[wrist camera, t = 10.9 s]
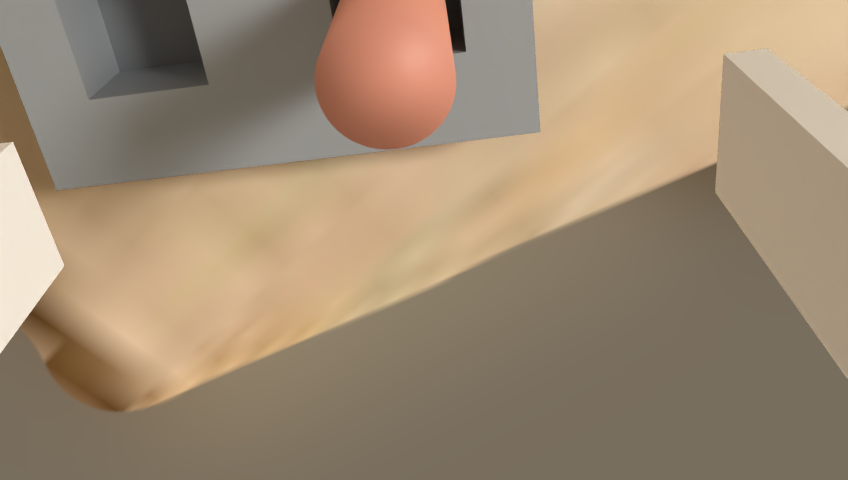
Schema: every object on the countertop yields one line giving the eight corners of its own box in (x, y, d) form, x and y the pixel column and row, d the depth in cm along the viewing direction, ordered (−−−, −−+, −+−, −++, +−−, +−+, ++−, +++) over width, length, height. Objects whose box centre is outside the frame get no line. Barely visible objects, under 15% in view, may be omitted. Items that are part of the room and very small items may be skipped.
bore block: (-11, -134, 31) (-66, -125, 27) (507, -210, 30) (519, -210, 26) (91, 152, 37) (56, 190, 33) (528, 99, 36) (540, 132, 32)
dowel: (345, -64, 32) (301, 22, 20) (435, -77, 32) (447, 2, 19) (360, 26, 34) (328, 157, 21) (446, 15, 33) (463, 140, 21)
